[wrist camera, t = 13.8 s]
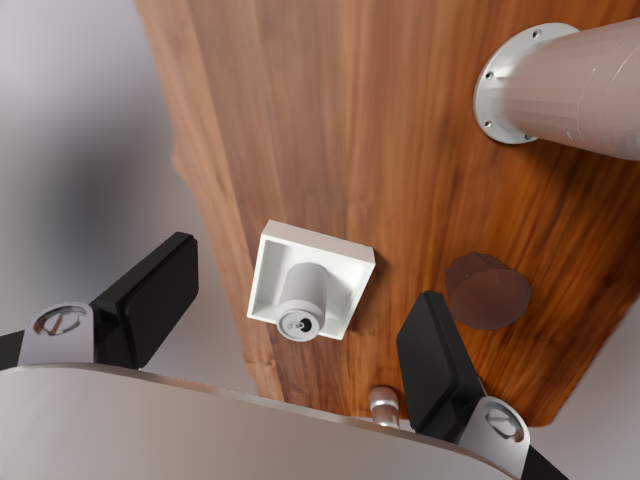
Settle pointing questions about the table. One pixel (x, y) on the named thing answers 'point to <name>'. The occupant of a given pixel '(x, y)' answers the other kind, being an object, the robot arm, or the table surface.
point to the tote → (325, 251)
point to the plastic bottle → (384, 406)
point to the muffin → (485, 292)
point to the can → (302, 302)
